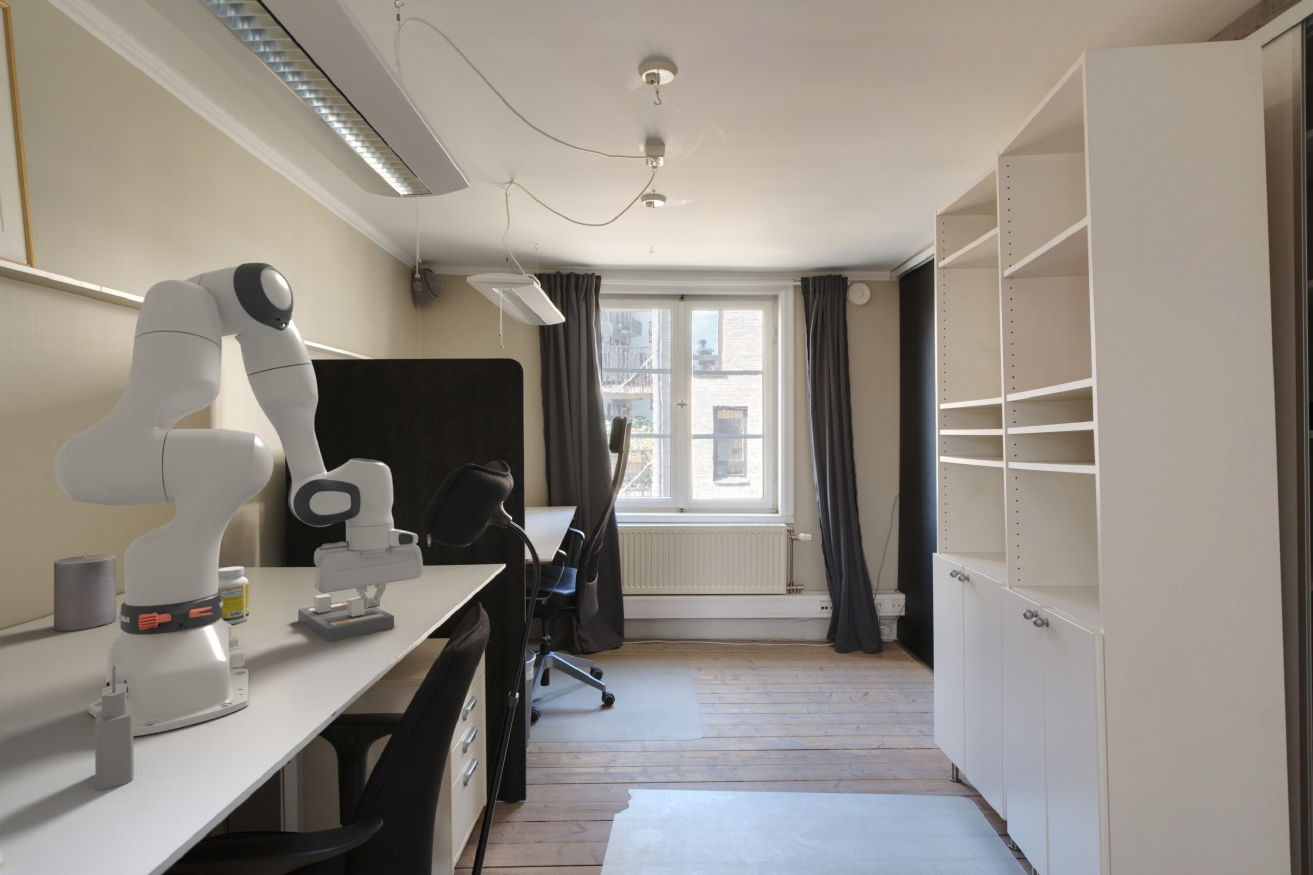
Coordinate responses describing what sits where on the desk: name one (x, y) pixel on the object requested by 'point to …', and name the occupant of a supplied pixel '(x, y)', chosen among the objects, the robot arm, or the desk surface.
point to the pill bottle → (234, 594)
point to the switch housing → (344, 621)
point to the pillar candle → (84, 592)
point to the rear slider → (322, 603)
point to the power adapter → (114, 737)
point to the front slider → (355, 606)
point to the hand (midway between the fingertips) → (371, 607)
